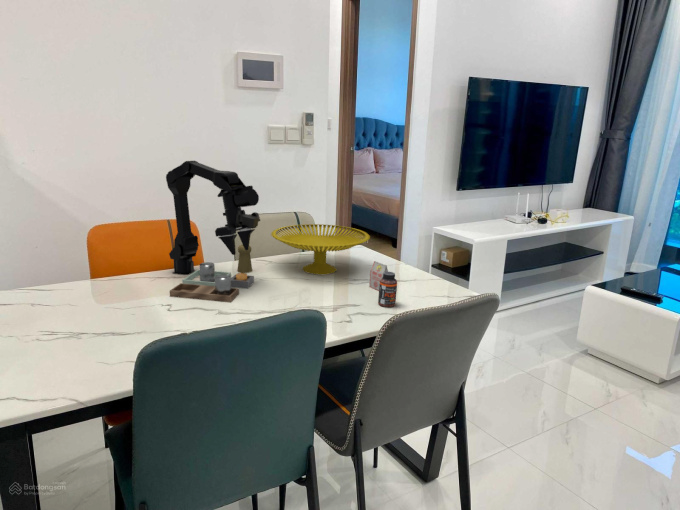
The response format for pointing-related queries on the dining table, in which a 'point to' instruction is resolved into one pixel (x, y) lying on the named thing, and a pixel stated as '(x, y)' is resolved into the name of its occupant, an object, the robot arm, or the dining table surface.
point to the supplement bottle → (387, 290)
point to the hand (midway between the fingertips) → (240, 252)
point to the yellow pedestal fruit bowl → (320, 243)
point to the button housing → (242, 282)
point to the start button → (241, 276)
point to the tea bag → (377, 274)
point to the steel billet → (207, 272)
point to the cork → (244, 260)
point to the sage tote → (190, 281)
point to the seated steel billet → (223, 285)
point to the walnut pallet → (201, 292)
